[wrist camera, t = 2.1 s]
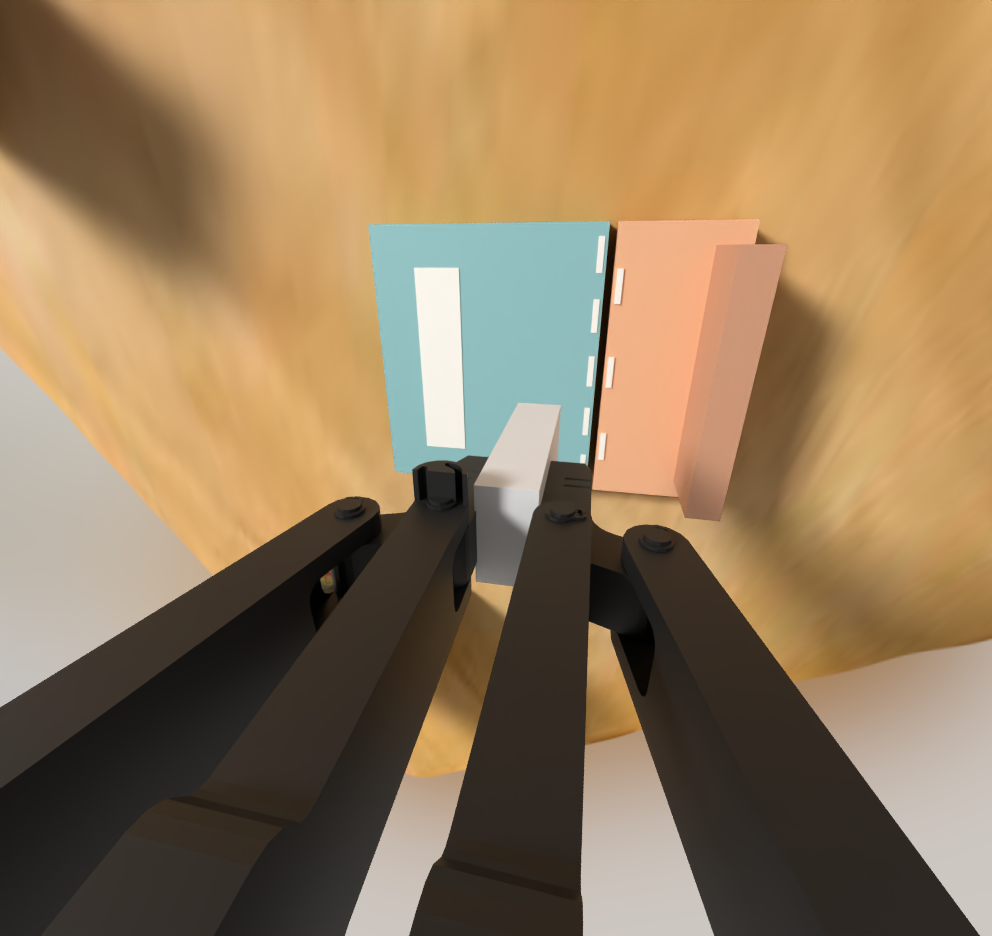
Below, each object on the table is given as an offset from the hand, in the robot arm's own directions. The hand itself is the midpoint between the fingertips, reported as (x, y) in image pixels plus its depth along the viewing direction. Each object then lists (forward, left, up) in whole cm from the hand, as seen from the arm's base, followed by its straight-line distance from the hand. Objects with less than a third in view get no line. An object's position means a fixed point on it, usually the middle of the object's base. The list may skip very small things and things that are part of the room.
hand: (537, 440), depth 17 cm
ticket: (0, -4, -11) cm, 12 cm away
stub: (0, +5, -11) cm, 13 cm away
